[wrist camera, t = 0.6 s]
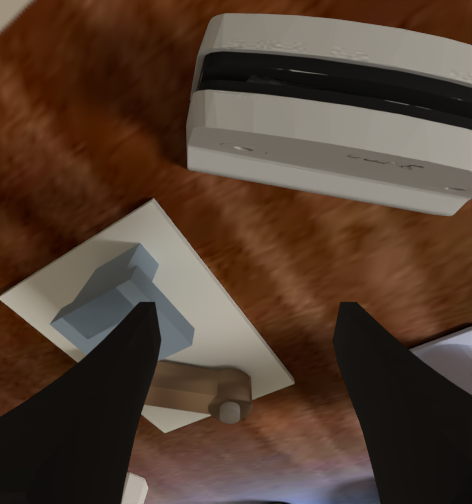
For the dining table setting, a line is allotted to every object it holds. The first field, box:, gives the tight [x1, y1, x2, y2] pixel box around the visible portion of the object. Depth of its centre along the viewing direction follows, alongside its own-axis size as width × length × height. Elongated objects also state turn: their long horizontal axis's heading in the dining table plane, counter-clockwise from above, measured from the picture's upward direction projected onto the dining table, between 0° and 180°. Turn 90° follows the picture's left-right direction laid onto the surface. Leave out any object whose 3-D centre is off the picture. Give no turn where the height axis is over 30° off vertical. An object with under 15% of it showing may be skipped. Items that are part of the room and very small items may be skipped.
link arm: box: [144, 361, 253, 424], centre depth 26 cm, size 13×4×3 cm, turn 76°
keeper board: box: [0, 198, 295, 433], centre depth 24 cm, size 20×14×6 cm
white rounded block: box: [186, 13, 472, 216], centre depth 15 cm, size 17×5×10 cm, turn 80°
